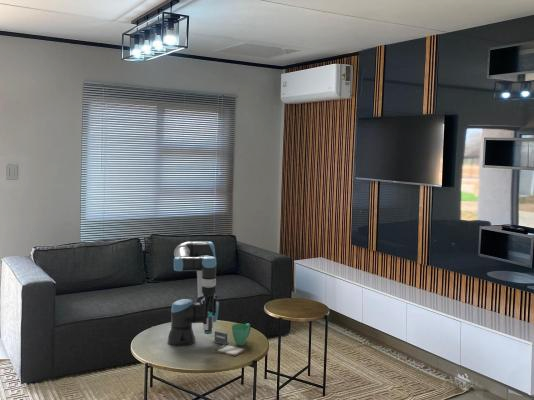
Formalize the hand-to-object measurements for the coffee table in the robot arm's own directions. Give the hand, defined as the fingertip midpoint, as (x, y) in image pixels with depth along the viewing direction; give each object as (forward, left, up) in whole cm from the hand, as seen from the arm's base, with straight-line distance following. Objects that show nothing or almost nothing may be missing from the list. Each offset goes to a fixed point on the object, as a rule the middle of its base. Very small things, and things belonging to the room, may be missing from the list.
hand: (208, 328), depth 305 cm
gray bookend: (-2, +16, -13) cm, 21 cm away
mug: (+8, +23, -13) cm, 28 cm away
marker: (0, 0, -3) cm, 3 cm away
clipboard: (+10, +8, -13) cm, 18 cm away
